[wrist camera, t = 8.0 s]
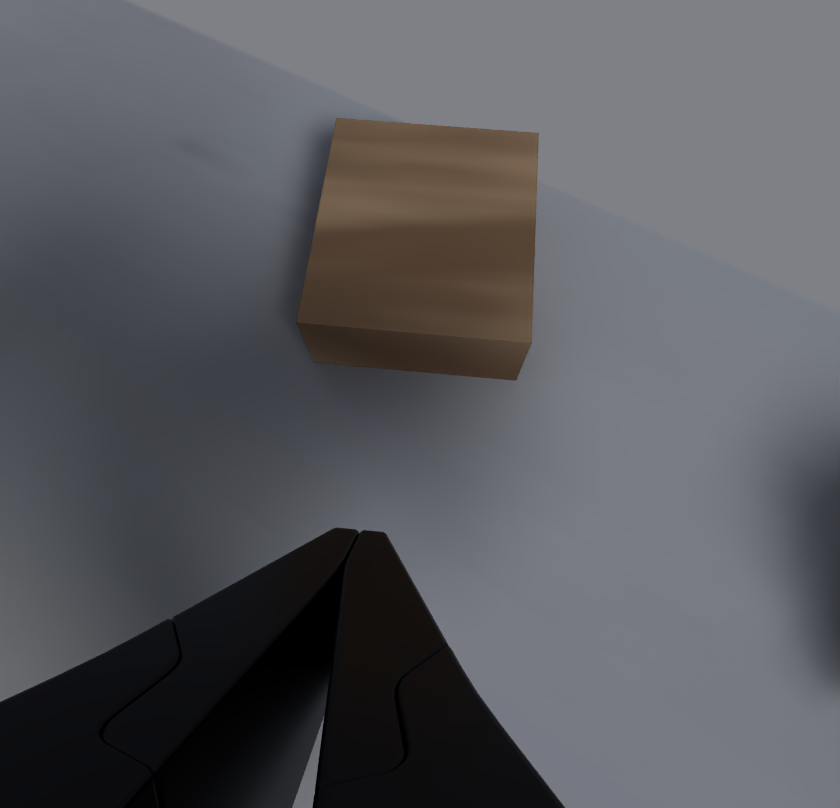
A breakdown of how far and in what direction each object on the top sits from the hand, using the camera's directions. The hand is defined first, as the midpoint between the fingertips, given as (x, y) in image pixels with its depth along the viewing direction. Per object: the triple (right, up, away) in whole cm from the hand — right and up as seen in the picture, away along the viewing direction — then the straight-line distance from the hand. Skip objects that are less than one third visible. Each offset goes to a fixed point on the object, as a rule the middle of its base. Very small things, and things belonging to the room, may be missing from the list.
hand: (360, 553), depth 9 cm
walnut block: (+1, +4, +9) cm, 10 cm away
